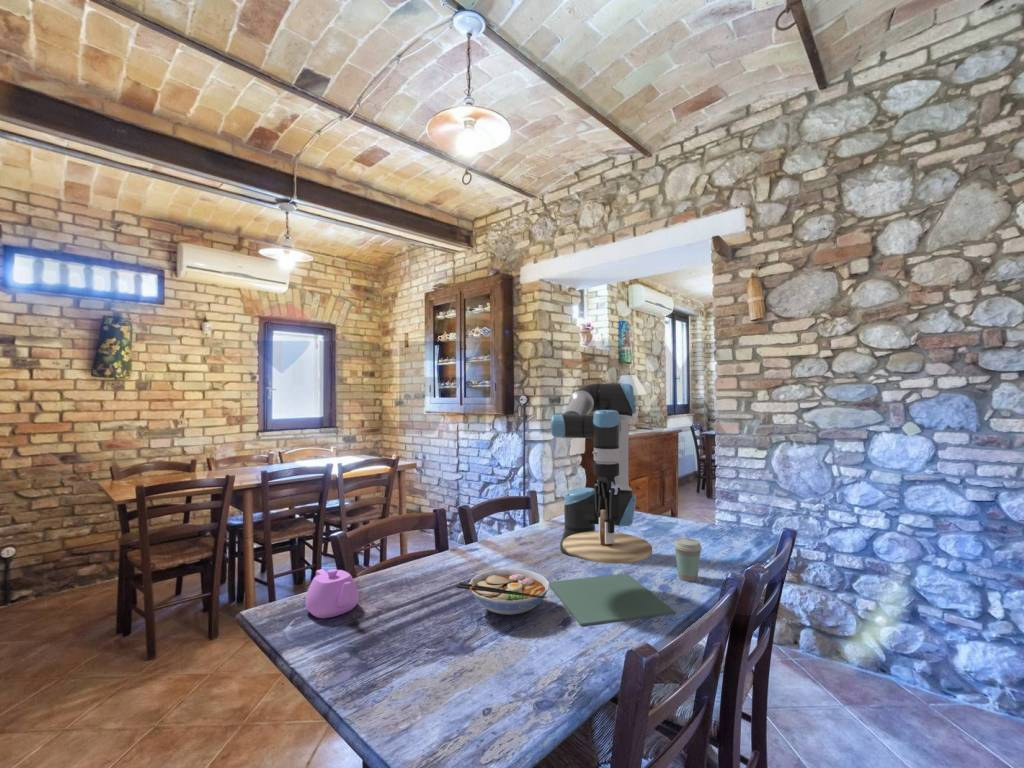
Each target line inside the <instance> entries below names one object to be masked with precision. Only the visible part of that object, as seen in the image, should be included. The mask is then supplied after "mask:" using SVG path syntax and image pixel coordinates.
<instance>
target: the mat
mask: <svg viewBox="0 0 1024 768" xmlns="http://www.w3.org/2000/svg"><path fill="white" fill-rule="evenodd" d="M549 588H550V589H551V591H553V593H554V594H555V595H556V597H557V598H558V600H559V601H560V603H561V604H562V605H563V606H564V607H565V608H566V610H567V611H568V613H569V614H571V616H572V617H573V619H575V621H576V622H577V623H578V624H579V627H580V626H581V627H582V626H590V625H598V624H599V625H600V624H605V623H612V622H613V623H614V621H615V622H621V621H629V620H636V619H643V618H644V619H645V618H652V617H659V616H666V615H673V614H674V615H675V614H676V610H674V608H672V607H671V606H670V605H669V604H667V603H666V602H664V601H663V600H661V599H660V598H659V597H658V596H657V595H655V594H654V593H653V592H652V591H650V590H649V589H648V588H646V587H645V586H644V585H643V584H641V583H640V582H639V581H638V580H637V579H635V578H634V577H633V576H631V575H630V574H629V573H620V574H618V573H617V574H610V575H602V576H591V577H582V578H575V579H574V578H572V579H565V580H554V581H553V580H552V581H549Z"/></svg>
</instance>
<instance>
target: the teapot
mask: <svg viewBox="0 0 1024 768" xmlns="http://www.w3.org/2000/svg"><path fill="white" fill-rule="evenodd" d="M359 600H360V599H359V591H358V587H357V584H356V582H355V580H354V578H353V577H352V575H351V573H349V572H348V571H345V570H343V569H336V568H331V569H328V570H325V569H323V568H321V569H317V570H316V571H315V576H314V577H313V579H312V580H311V582H310V585H309V586H308V589H307V593H306V596H305V608H306V609H307V611H308V612H309V613H310V614H311V615H312V616H314V617H315V618H316V619H317V618H318V619H329V618H333V617H337V616H338V617H339V616H341V615H343V614H346V613H348V612H350V611H352V610H353V609H354V608H355V607H356V605H358V603H359Z"/></svg>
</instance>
